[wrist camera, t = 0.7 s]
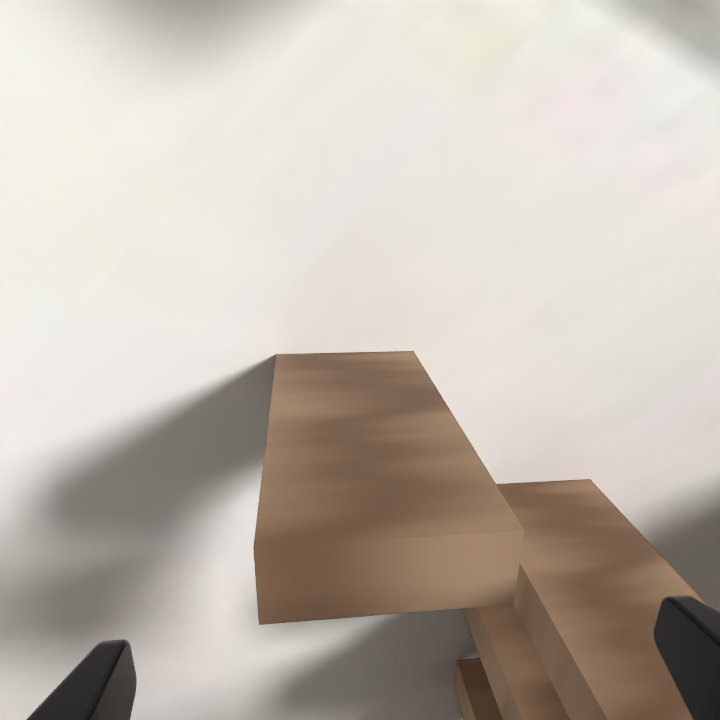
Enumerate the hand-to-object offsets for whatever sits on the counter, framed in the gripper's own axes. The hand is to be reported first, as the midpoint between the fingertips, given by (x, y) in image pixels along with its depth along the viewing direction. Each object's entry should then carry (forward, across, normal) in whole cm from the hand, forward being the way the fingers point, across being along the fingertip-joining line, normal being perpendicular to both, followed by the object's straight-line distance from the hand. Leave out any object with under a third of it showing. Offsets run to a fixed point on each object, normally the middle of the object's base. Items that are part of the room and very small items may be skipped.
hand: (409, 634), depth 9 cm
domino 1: (+11, 0, 0) cm, 11 cm away
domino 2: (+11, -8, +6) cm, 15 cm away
